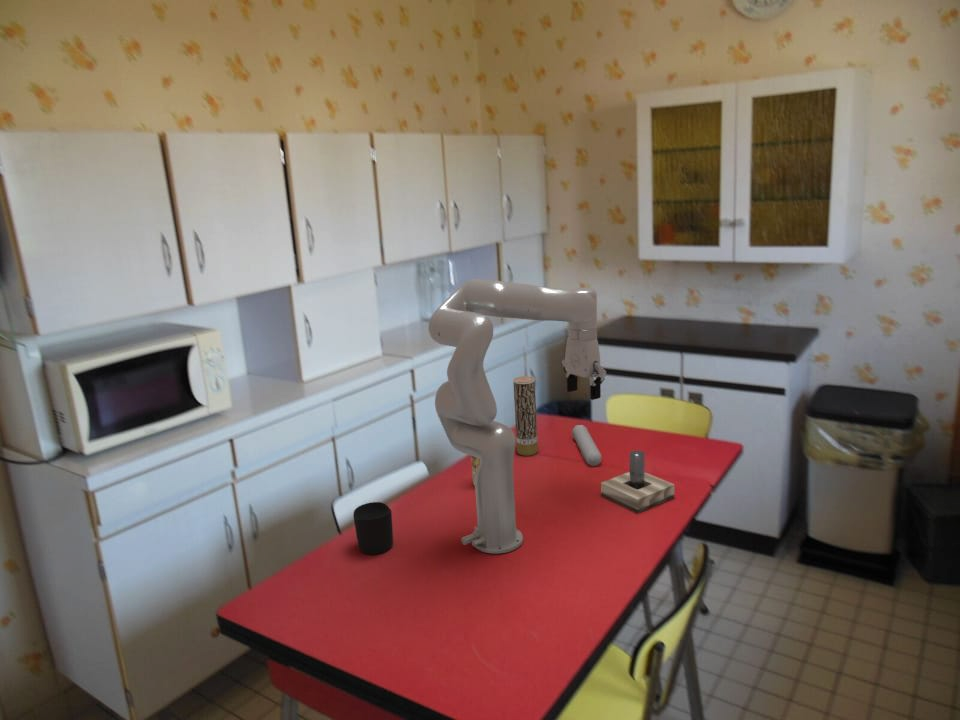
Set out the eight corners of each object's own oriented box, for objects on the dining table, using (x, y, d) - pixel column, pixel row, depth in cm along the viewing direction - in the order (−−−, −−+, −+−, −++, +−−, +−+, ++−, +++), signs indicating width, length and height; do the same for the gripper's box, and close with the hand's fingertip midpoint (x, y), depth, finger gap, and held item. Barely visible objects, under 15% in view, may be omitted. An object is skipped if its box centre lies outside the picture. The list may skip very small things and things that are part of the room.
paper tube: (514, 450, 237) (510, 378, 231) (533, 447, 239) (530, 375, 233) (521, 458, 231) (517, 383, 225) (541, 454, 233) (537, 380, 227)
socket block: (638, 513, 190) (637, 499, 189) (601, 495, 202) (600, 482, 200) (674, 497, 198) (674, 484, 197) (636, 481, 209) (636, 469, 208)
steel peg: (637, 498, 197) (637, 457, 193) (626, 493, 200) (626, 453, 197) (647, 493, 199) (647, 453, 196) (636, 489, 202) (636, 449, 199)
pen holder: (400, 538, 185) (396, 503, 182) (386, 557, 176) (382, 520, 174) (366, 536, 187) (362, 501, 185) (351, 554, 179) (346, 518, 176)
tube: (606, 455, 220) (589, 426, 244) (589, 451, 219) (574, 423, 243) (600, 471, 221) (584, 440, 245) (584, 467, 220) (569, 437, 244)
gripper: (552, 331, 199) (553, 390, 203) (593, 341, 185) (594, 404, 189) (573, 327, 203) (574, 385, 207) (615, 336, 189) (615, 399, 193)
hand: (583, 394), depth 198 cm, fingers open, 9 cm apart
